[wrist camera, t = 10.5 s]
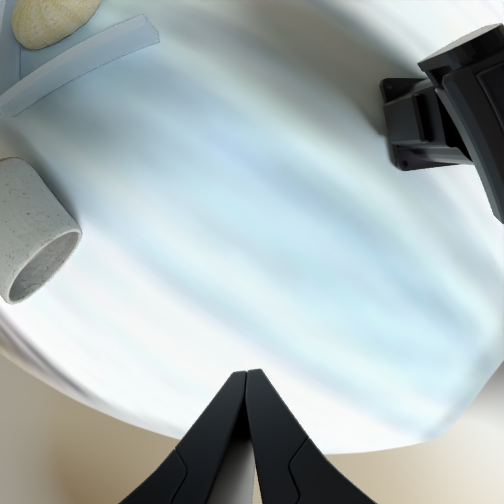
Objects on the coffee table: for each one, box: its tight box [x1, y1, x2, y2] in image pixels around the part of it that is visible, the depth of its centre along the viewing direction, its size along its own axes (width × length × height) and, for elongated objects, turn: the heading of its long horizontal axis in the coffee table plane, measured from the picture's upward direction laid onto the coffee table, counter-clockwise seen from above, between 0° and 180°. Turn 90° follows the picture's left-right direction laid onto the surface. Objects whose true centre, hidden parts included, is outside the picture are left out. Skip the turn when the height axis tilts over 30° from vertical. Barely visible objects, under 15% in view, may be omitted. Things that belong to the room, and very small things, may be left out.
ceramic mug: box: [0, 157, 82, 304], centre depth 16 cm, size 11×8×8 cm
